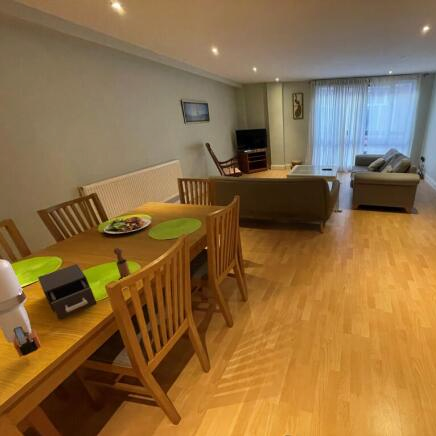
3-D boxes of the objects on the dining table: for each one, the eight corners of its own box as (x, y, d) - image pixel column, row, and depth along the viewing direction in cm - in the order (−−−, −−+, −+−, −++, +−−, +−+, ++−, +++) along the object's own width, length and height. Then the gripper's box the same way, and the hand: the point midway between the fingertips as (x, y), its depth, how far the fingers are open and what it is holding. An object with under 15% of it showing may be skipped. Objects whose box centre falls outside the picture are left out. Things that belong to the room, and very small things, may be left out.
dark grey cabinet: (93, 294, 102) (85, 276, 98) (53, 311, 93) (43, 292, 89) (84, 281, 111) (76, 263, 107) (46, 295, 102) (37, 276, 98)
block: (20, 357, 72) (14, 346, 71) (18, 348, 75) (12, 337, 73) (41, 347, 76) (35, 336, 74) (39, 339, 78) (33, 328, 77)
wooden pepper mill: (123, 288, 106) (112, 253, 99) (116, 283, 109) (104, 249, 102) (139, 280, 111) (129, 246, 104) (131, 276, 114) (121, 242, 108)
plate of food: (94, 233, 158) (91, 224, 155) (132, 218, 182) (130, 210, 180) (125, 239, 150) (123, 230, 147) (161, 222, 174) (159, 214, 172)
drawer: (100, 308, 93) (93, 292, 90) (61, 326, 85) (53, 309, 82) (87, 289, 104) (81, 274, 101) (52, 304, 96) (44, 288, 93)
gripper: (-16, 294, 71) (9, 340, 78) (-14, 323, 61) (14, 373, 68) (21, 282, 76) (41, 326, 83) (28, 307, 66) (50, 355, 73)
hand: (29, 346), depth 75 cm, fingers closed on block, 4 cm apart
